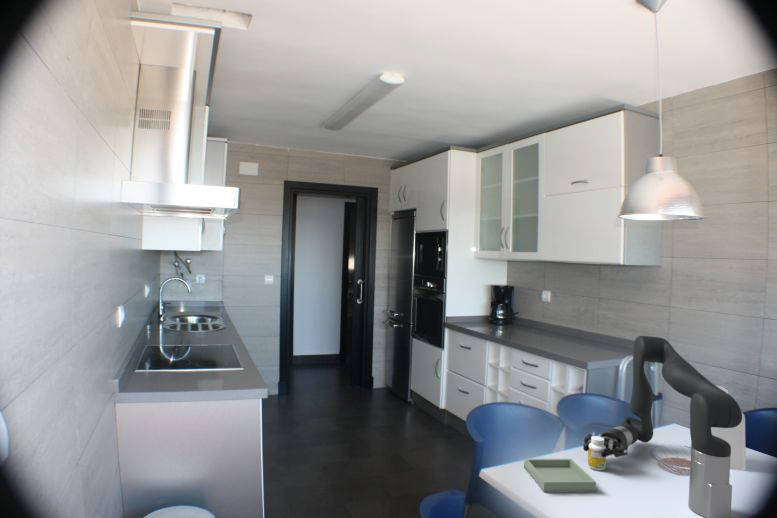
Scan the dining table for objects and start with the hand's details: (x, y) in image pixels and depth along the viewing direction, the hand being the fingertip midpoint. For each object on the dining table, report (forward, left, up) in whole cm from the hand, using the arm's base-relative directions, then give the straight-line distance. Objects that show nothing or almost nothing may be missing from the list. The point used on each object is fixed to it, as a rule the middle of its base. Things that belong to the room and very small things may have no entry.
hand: (593, 451), depth 157 cm
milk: (+7, -50, -6) cm, 51 cm away
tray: (-6, +15, -6) cm, 17 cm away
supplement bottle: (+1, -2, -6) cm, 7 cm away
